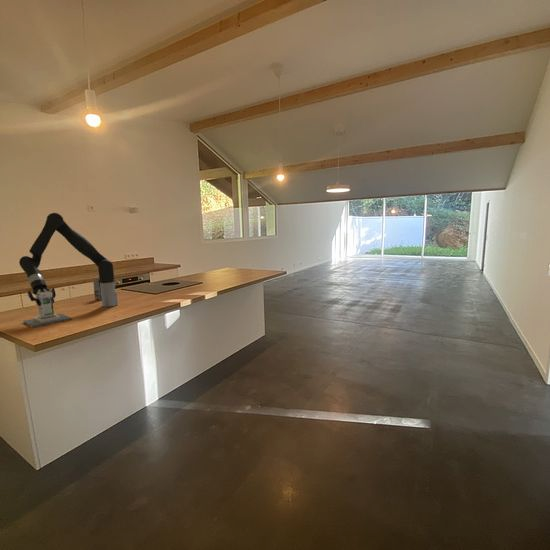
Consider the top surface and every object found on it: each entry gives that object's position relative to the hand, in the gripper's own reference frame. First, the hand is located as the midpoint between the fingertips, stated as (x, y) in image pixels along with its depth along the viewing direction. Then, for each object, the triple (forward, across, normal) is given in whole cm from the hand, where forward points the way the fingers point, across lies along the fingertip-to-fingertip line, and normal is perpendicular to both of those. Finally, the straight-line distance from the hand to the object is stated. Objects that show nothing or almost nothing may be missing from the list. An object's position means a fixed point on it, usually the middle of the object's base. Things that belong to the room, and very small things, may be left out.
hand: (46, 304), depth 195 cm
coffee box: (-21, +49, +36) cm, 65 cm away
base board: (+7, 0, +9) cm, 11 cm away
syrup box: (+4, 0, +7) cm, 8 cm away
